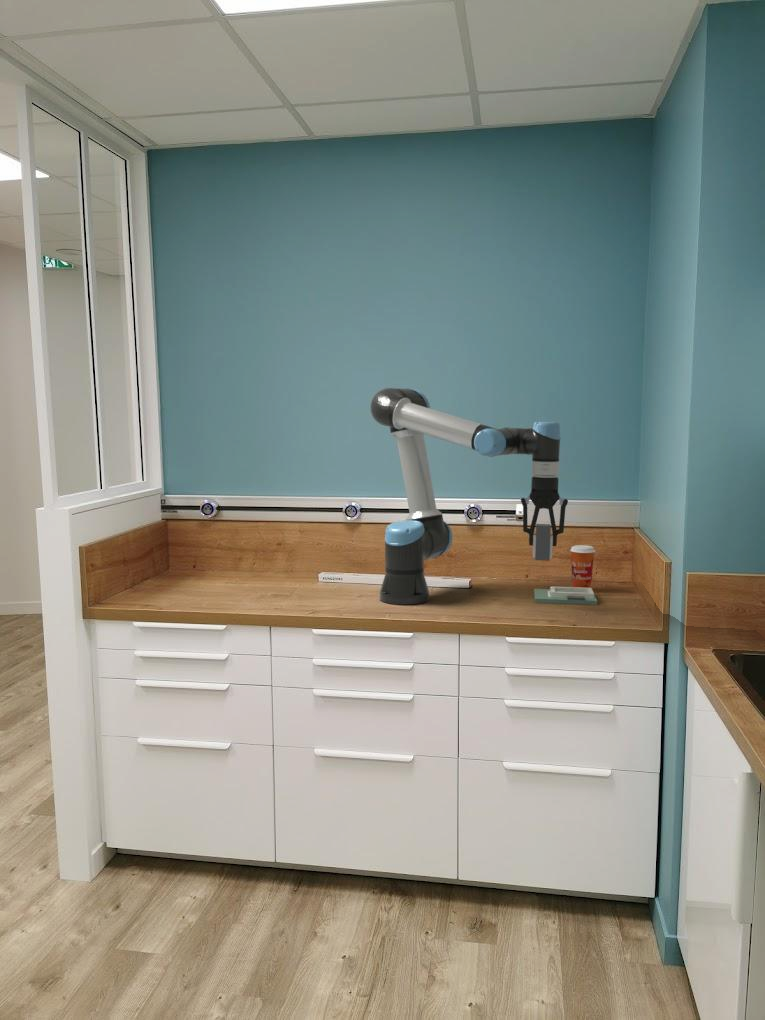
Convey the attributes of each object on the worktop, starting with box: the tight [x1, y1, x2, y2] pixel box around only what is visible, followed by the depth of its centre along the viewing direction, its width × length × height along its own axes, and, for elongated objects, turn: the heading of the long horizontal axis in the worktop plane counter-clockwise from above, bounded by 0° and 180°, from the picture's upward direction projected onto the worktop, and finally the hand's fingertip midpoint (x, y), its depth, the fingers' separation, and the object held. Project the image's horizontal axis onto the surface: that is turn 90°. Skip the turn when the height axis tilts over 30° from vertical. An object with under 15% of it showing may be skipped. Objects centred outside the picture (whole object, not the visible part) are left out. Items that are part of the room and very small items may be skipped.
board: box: [533, 586, 598, 606], centre depth 248 cm, size 18×14×3 cm
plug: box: [534, 523, 552, 562], centre depth 235 cm, size 4×5×10 cm
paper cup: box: [569, 544, 597, 588], centre depth 259 cm, size 8×8×14 cm
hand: (542, 556), depth 235 cm, fingers closed on plug, 4 cm apart
